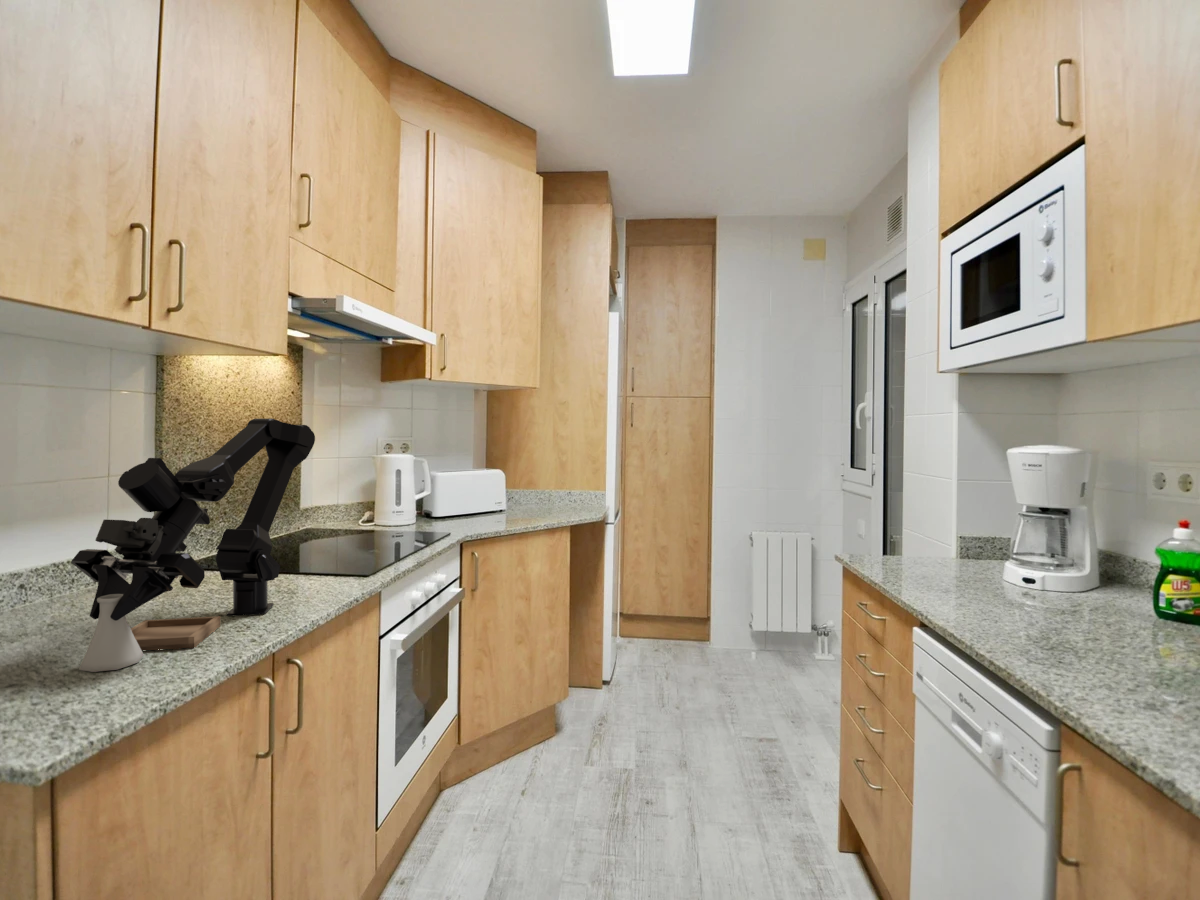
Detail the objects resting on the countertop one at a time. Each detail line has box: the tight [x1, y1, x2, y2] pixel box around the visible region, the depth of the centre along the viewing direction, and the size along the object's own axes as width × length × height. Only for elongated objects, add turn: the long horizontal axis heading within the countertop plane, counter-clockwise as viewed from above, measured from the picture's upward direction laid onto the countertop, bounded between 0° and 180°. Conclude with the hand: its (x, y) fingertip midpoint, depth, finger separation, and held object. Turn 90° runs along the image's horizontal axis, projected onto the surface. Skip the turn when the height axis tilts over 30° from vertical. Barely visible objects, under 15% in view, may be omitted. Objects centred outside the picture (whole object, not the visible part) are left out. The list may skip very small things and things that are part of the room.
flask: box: [78, 594, 145, 673], centre depth 92 cm, size 7×7×10 cm
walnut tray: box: [130, 615, 222, 651], centre depth 103 cm, size 12×12×2 cm
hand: (102, 618), depth 90 cm, fingers open, 3 cm apart
